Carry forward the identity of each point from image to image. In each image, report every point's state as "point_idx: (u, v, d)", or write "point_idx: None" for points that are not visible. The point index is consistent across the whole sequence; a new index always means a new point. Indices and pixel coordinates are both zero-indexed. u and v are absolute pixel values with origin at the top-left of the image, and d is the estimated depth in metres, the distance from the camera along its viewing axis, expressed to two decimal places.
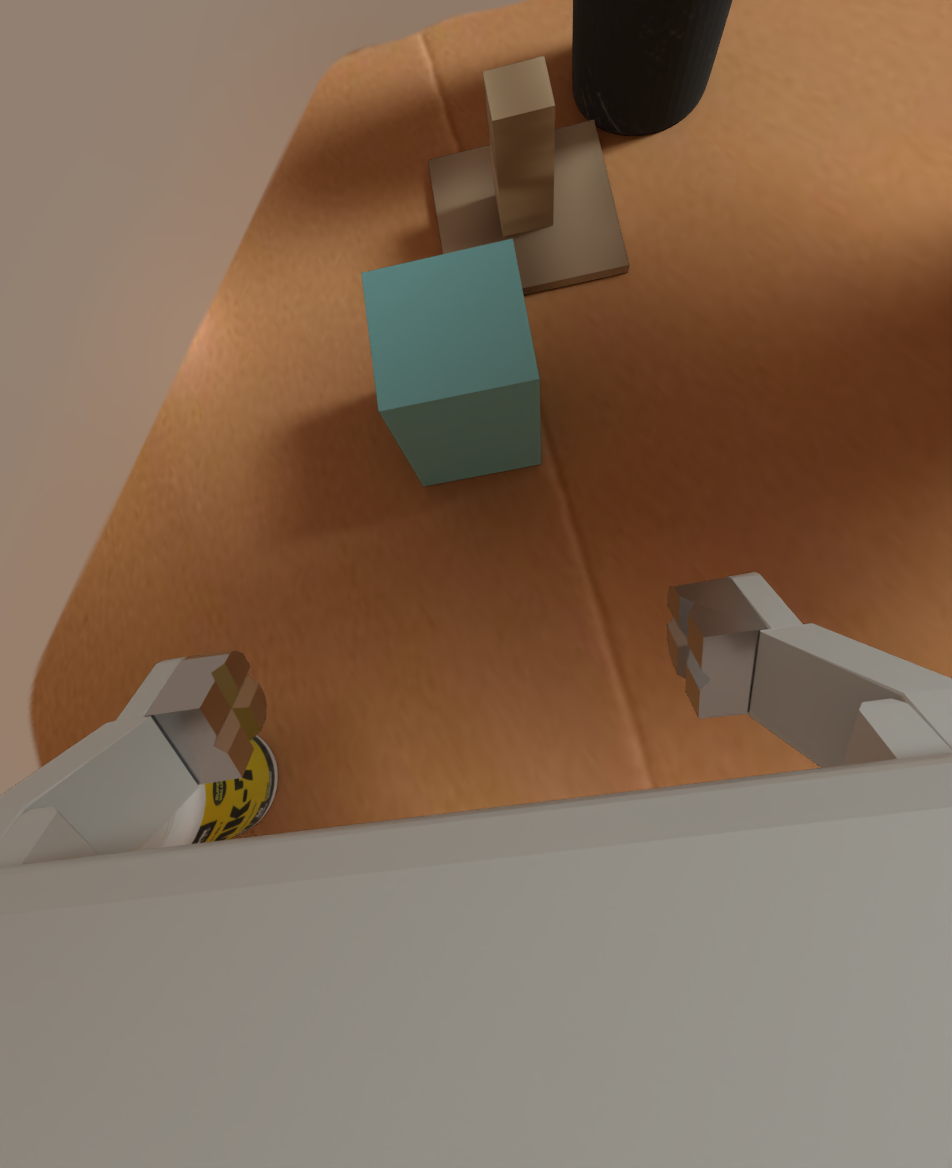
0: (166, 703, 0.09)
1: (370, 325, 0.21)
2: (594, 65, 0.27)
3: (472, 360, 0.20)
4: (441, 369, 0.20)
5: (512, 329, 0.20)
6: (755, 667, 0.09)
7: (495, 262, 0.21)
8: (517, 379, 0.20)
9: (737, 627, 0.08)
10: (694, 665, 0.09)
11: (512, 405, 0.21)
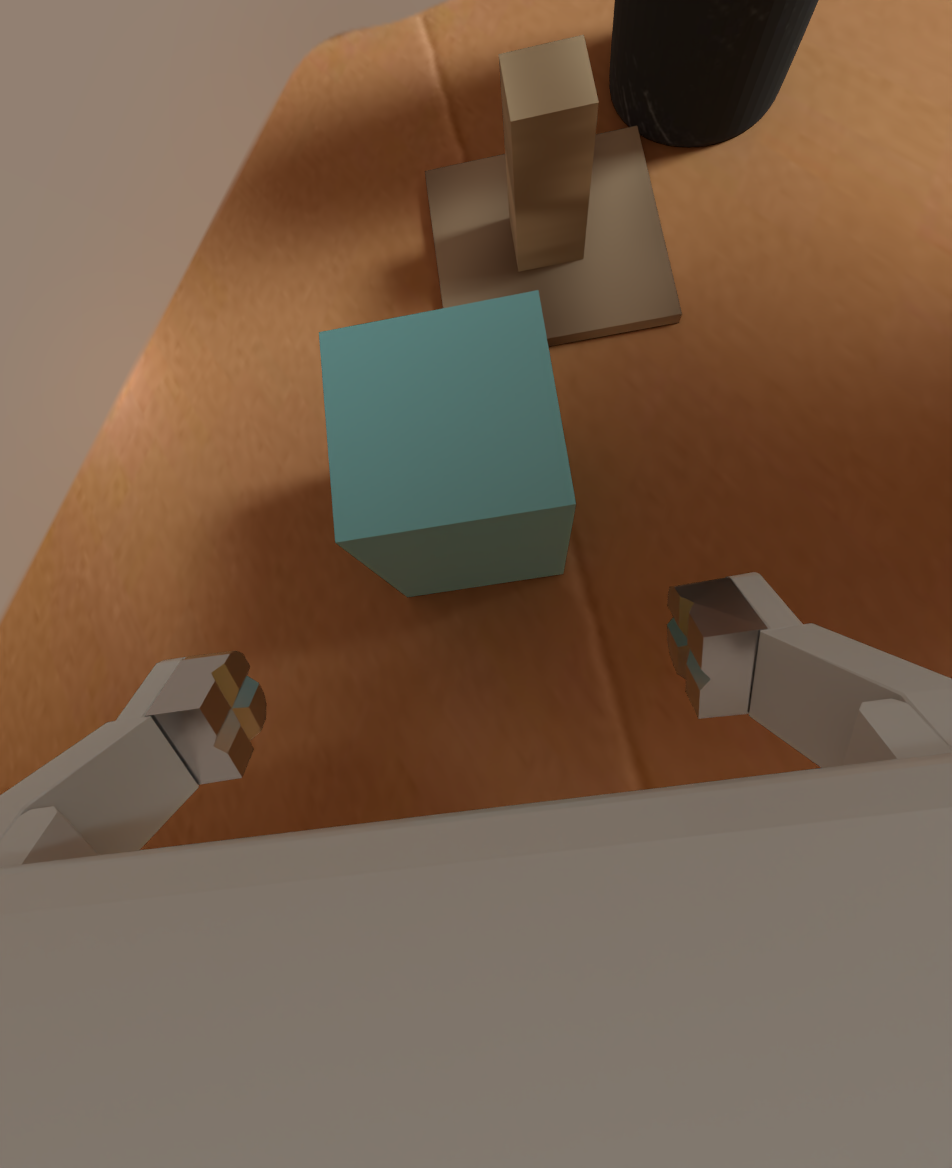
0: (166, 702, 0.09)
1: (328, 410, 0.14)
2: (643, 54, 0.21)
3: (476, 470, 0.13)
4: (430, 482, 0.14)
5: (536, 426, 0.13)
6: (755, 667, 0.09)
7: (512, 324, 0.14)
8: (543, 503, 0.13)
9: (737, 627, 0.08)
10: (694, 665, 0.09)
11: (532, 529, 0.14)
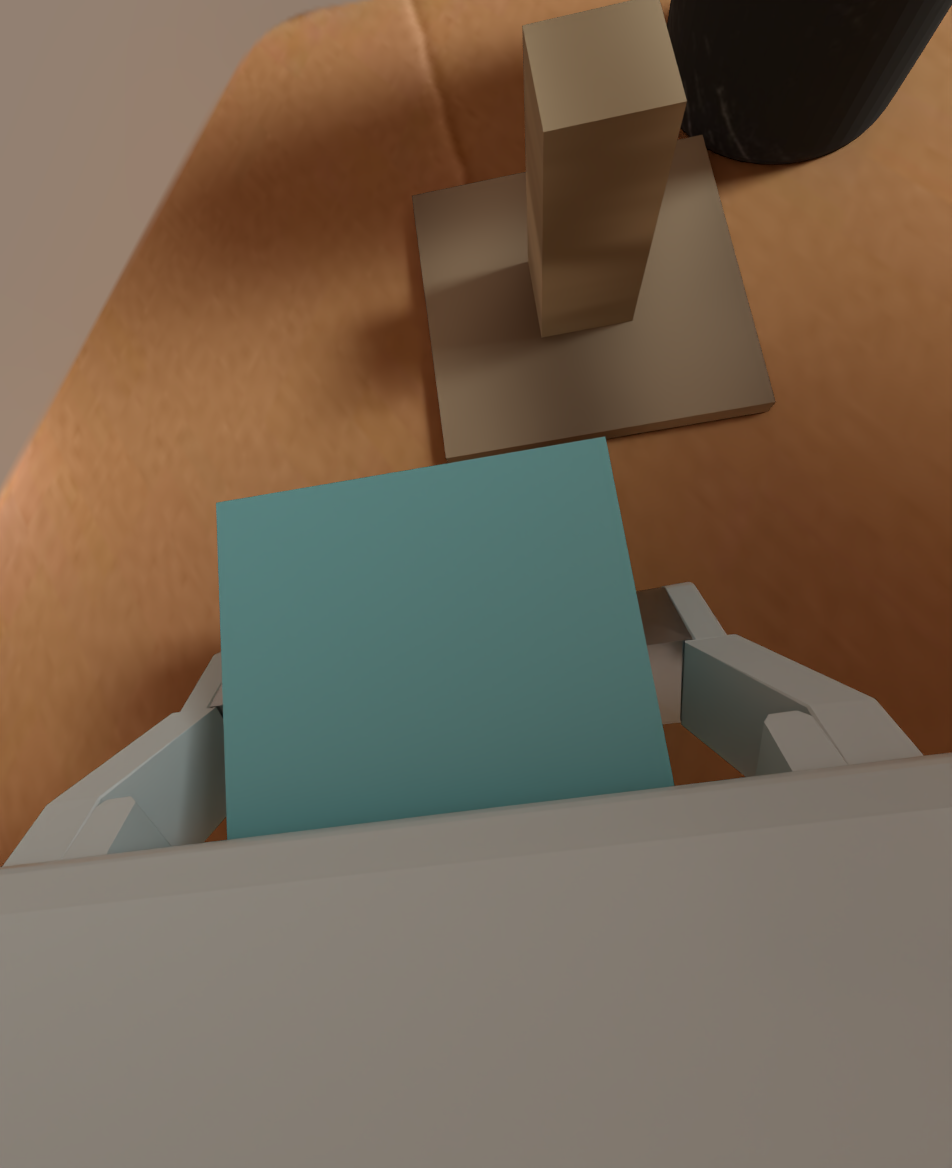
0: None
1: (227, 653, 0.08)
2: (721, 34, 0.15)
3: (496, 794, 0.07)
4: (409, 812, 0.07)
5: (609, 707, 0.07)
6: (683, 677, 0.09)
7: (560, 500, 0.08)
8: None
9: (663, 637, 0.09)
10: None
11: None
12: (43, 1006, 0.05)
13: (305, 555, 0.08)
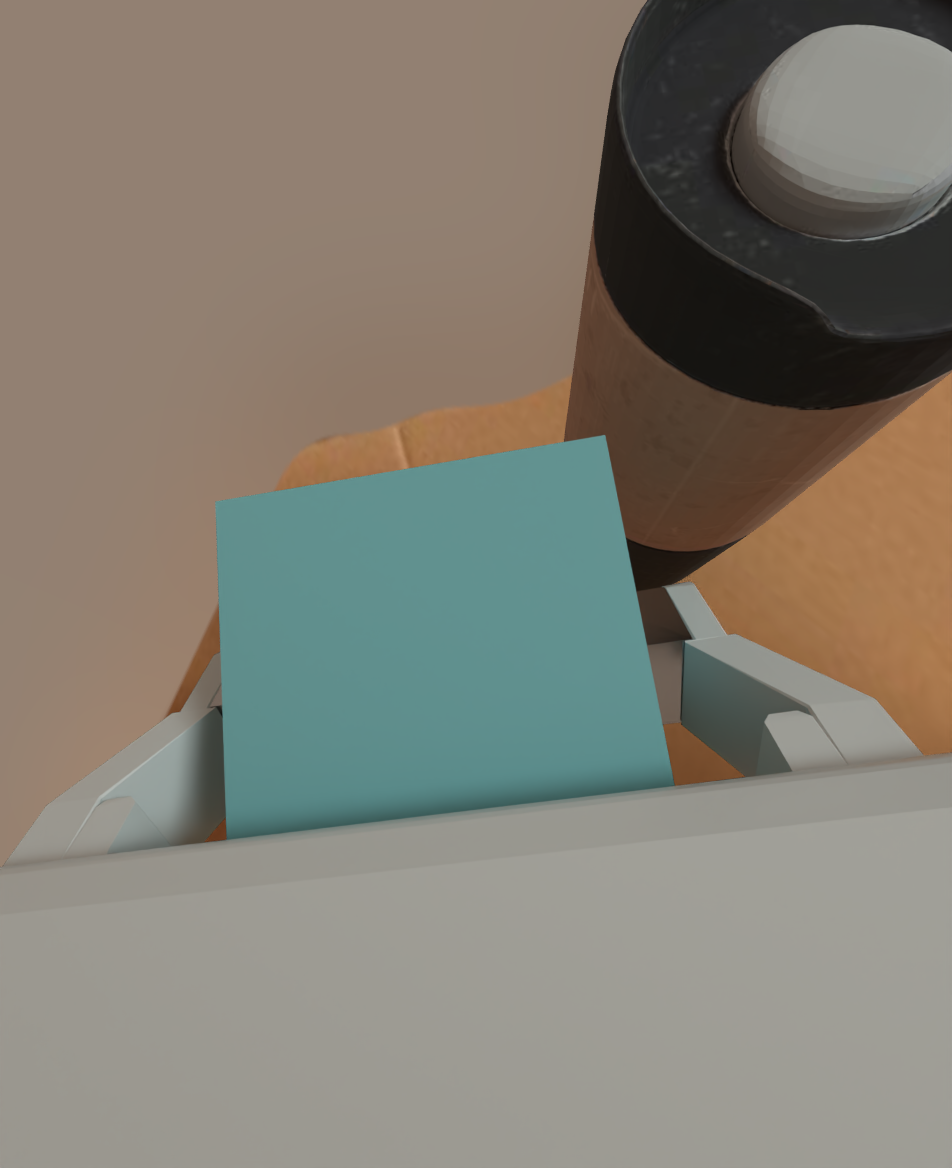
0: None
1: (226, 652, 0.08)
2: None
3: (496, 793, 0.07)
4: (409, 811, 0.07)
5: (609, 705, 0.07)
6: (683, 677, 0.09)
7: (560, 499, 0.08)
8: None
9: (663, 637, 0.09)
10: None
11: None
12: (43, 1006, 0.05)
13: (304, 554, 0.08)
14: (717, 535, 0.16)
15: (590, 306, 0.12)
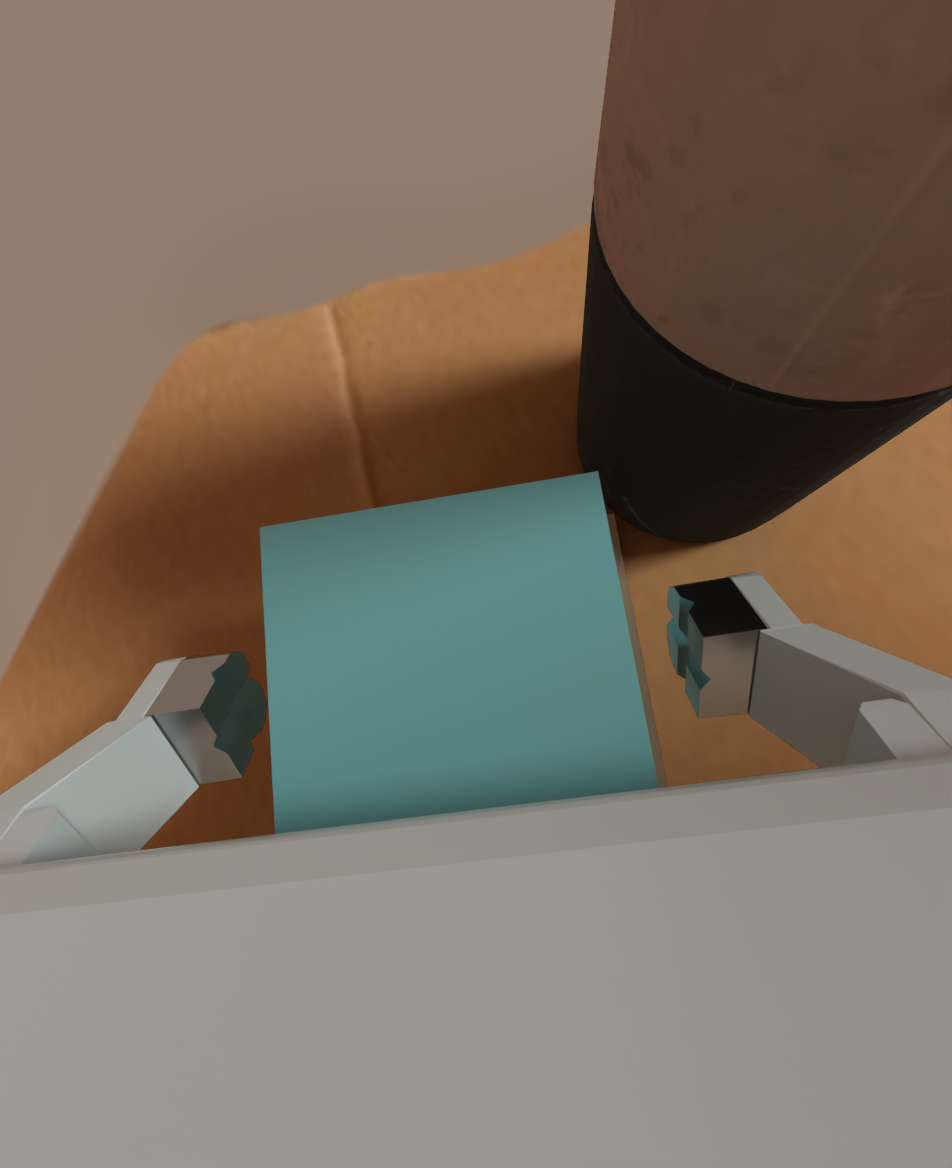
0: (166, 703, 0.09)
1: (271, 658, 0.09)
2: (618, 473, 0.14)
3: (504, 779, 0.08)
4: (430, 794, 0.08)
5: (600, 704, 0.08)
6: (755, 667, 0.09)
7: (559, 527, 0.09)
8: None
9: (737, 627, 0.08)
10: (694, 665, 0.09)
11: None
12: (43, 1006, 0.05)
13: (338, 573, 0.09)
14: None
15: None
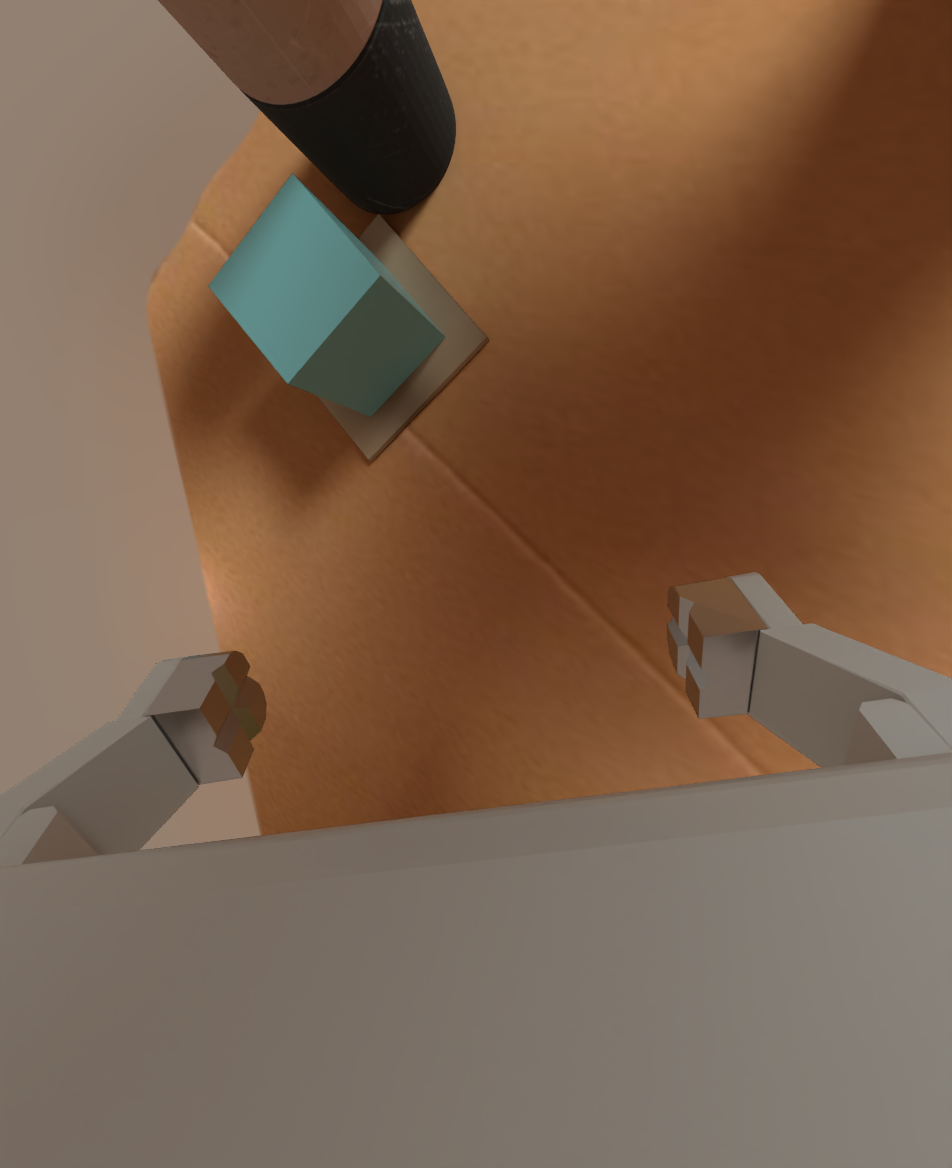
0: (167, 702, 0.09)
1: (240, 322, 0.24)
2: (350, 185, 0.27)
3: (325, 296, 0.23)
4: (308, 319, 0.23)
5: (337, 249, 0.22)
6: (755, 667, 0.09)
7: (292, 203, 0.23)
8: (365, 287, 0.22)
9: (737, 627, 0.08)
10: (694, 665, 0.09)
11: (379, 309, 0.24)
12: (43, 1006, 0.05)
13: (240, 279, 0.24)
14: (330, 23, 0.19)
15: None
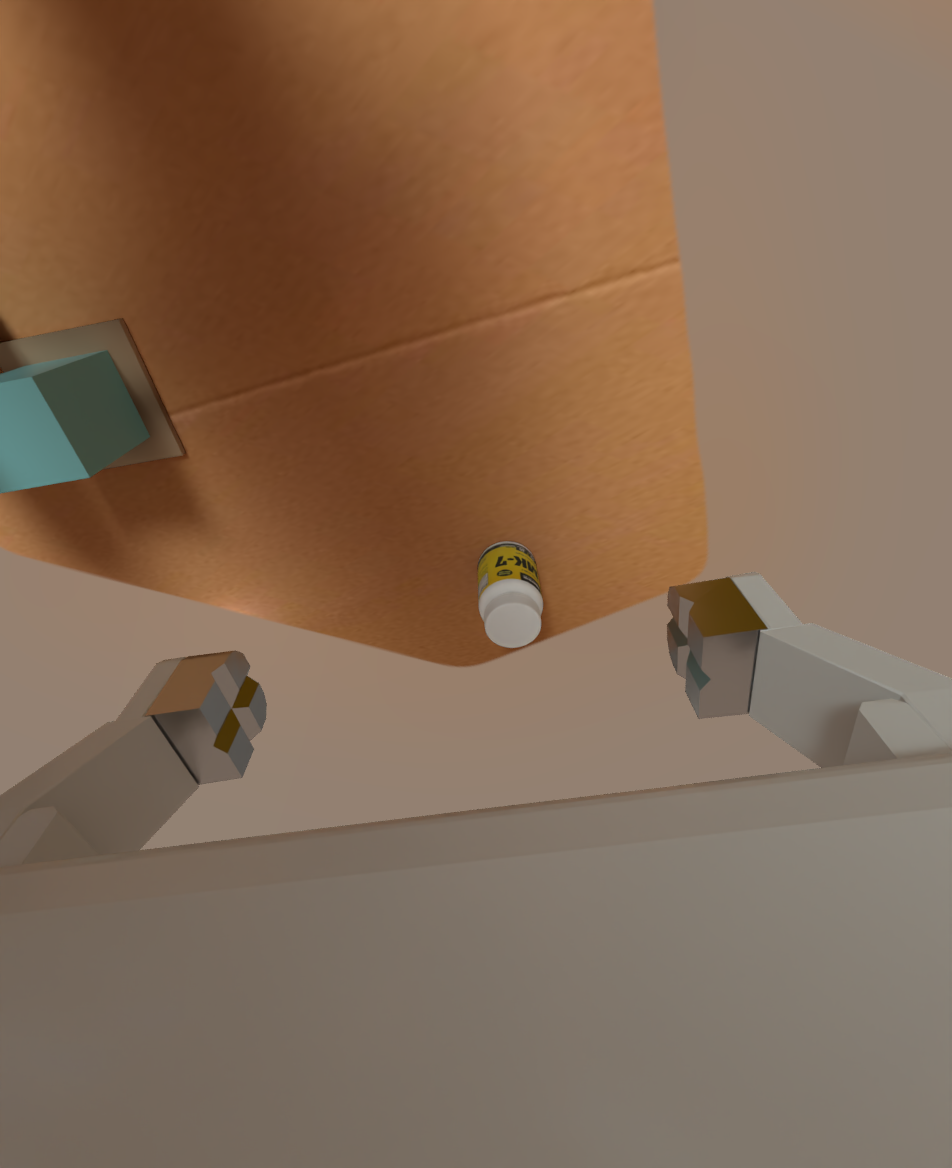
0: (166, 703, 0.09)
1: (34, 485, 0.33)
2: None
3: (34, 421, 0.31)
4: (48, 440, 0.32)
5: (2, 395, 0.30)
6: (755, 667, 0.09)
7: None
8: (37, 391, 0.30)
9: (737, 627, 0.08)
10: (694, 665, 0.09)
11: (59, 389, 0.32)
12: (43, 1006, 0.05)
13: (1, 469, 0.33)
14: None
15: None
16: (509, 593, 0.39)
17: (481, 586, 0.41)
